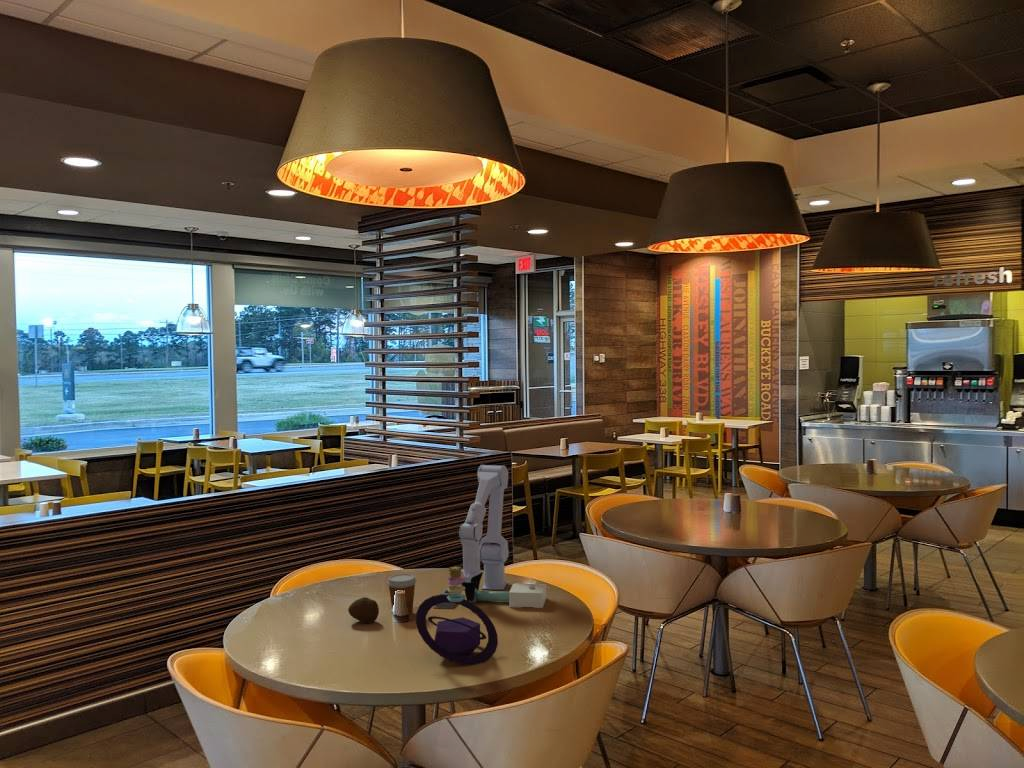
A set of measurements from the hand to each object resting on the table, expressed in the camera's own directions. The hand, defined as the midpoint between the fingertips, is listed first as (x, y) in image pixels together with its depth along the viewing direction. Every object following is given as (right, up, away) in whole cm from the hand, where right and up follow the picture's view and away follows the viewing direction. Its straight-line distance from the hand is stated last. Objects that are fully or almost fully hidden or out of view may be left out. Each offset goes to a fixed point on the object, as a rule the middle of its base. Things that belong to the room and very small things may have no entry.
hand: (472, 597), depth 271 cm
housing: (+18, -1, -3) cm, 19 cm away
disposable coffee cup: (-22, -3, -11) cm, 25 cm away
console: (-8, -2, +1) cm, 9 cm away
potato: (-34, -3, -18) cm, 38 cm away
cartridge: (+7, -1, -1) cm, 7 cm away
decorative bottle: (-2, -4, -47) cm, 47 cm away
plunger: (-8, -1, +4) cm, 9 cm away
